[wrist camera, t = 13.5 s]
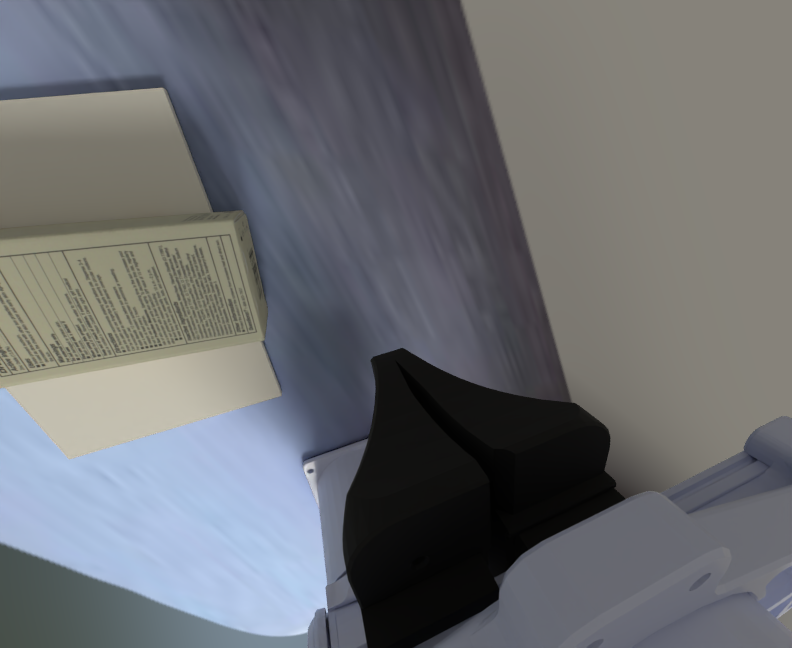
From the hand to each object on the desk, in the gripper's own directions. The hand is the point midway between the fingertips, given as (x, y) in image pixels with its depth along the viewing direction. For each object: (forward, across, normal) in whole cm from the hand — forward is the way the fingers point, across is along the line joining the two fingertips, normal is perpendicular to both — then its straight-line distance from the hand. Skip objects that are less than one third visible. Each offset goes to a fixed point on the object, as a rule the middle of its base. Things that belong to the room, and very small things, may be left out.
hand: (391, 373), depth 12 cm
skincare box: (+8, +4, -3) cm, 9 cm away
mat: (+10, +13, -3) cm, 17 cm away
